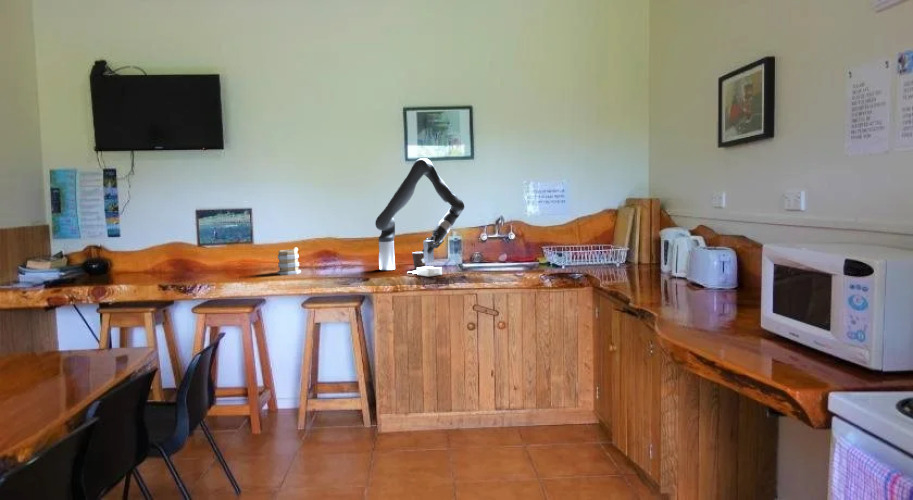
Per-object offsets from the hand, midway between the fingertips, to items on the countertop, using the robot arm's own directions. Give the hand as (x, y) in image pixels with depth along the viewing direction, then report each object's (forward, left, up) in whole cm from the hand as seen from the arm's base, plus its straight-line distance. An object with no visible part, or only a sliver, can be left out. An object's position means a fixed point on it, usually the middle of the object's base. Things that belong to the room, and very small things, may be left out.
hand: (425, 252), depth 323 cm
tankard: (-77, -45, -13) cm, 90 cm away
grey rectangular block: (0, +2, -6) cm, 6 cm away
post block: (-5, +2, -13) cm, 14 cm away
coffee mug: (-26, +16, -13) cm, 33 cm away
